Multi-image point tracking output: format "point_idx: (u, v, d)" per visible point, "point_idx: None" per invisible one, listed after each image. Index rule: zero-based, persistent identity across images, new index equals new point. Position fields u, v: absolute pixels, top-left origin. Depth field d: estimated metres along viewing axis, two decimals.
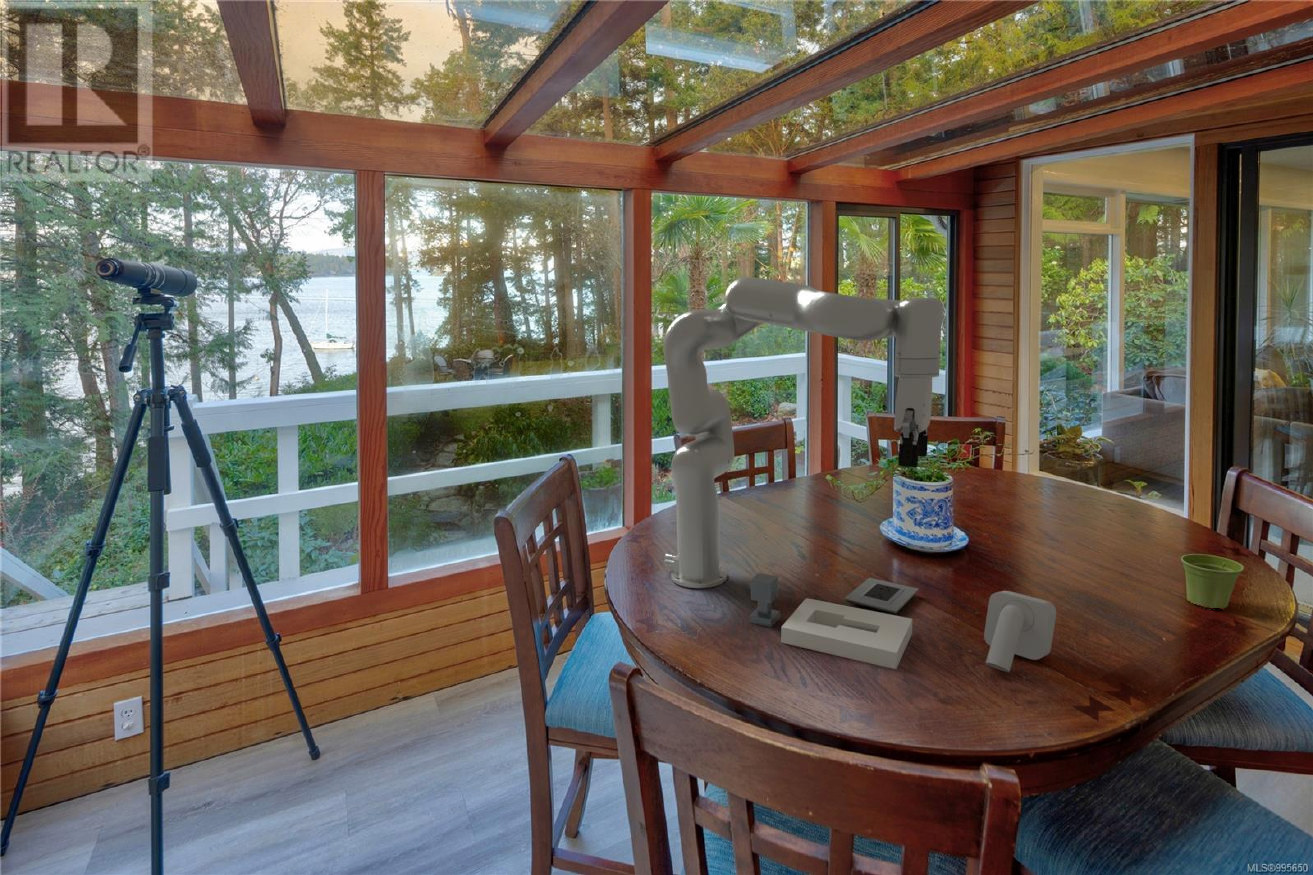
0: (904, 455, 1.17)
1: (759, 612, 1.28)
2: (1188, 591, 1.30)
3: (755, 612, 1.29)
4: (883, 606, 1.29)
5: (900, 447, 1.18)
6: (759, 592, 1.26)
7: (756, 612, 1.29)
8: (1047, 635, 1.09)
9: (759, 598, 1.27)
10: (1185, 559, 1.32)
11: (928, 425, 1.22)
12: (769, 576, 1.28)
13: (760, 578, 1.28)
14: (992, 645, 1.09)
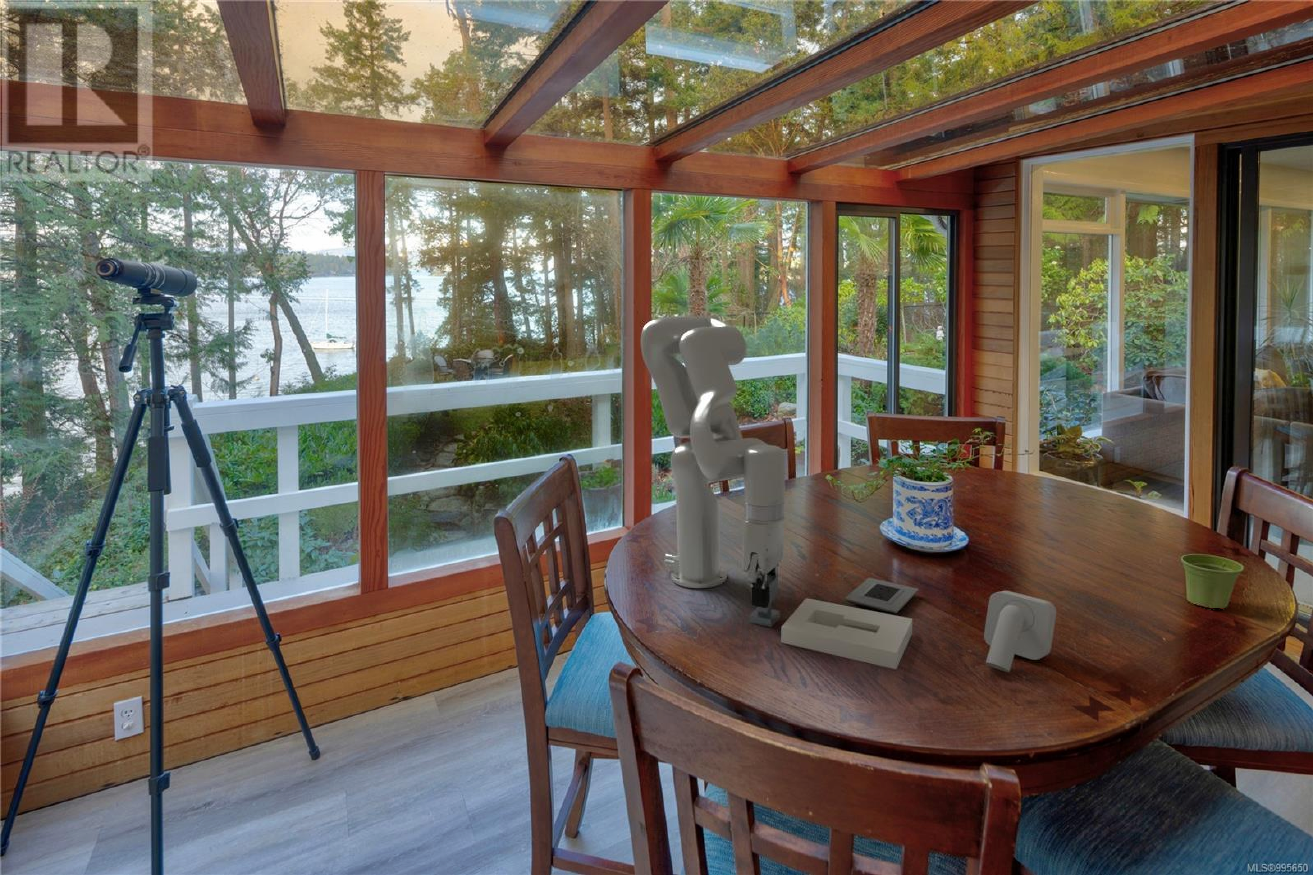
0: (755, 597, 1.25)
1: (759, 612, 1.28)
2: (1188, 591, 1.30)
3: (755, 612, 1.29)
4: (884, 606, 1.29)
5: (752, 589, 1.26)
6: None
7: (756, 612, 1.29)
8: (1047, 635, 1.09)
9: None
10: (1185, 559, 1.32)
11: None
12: (769, 576, 1.28)
13: None
14: (992, 646, 1.09)
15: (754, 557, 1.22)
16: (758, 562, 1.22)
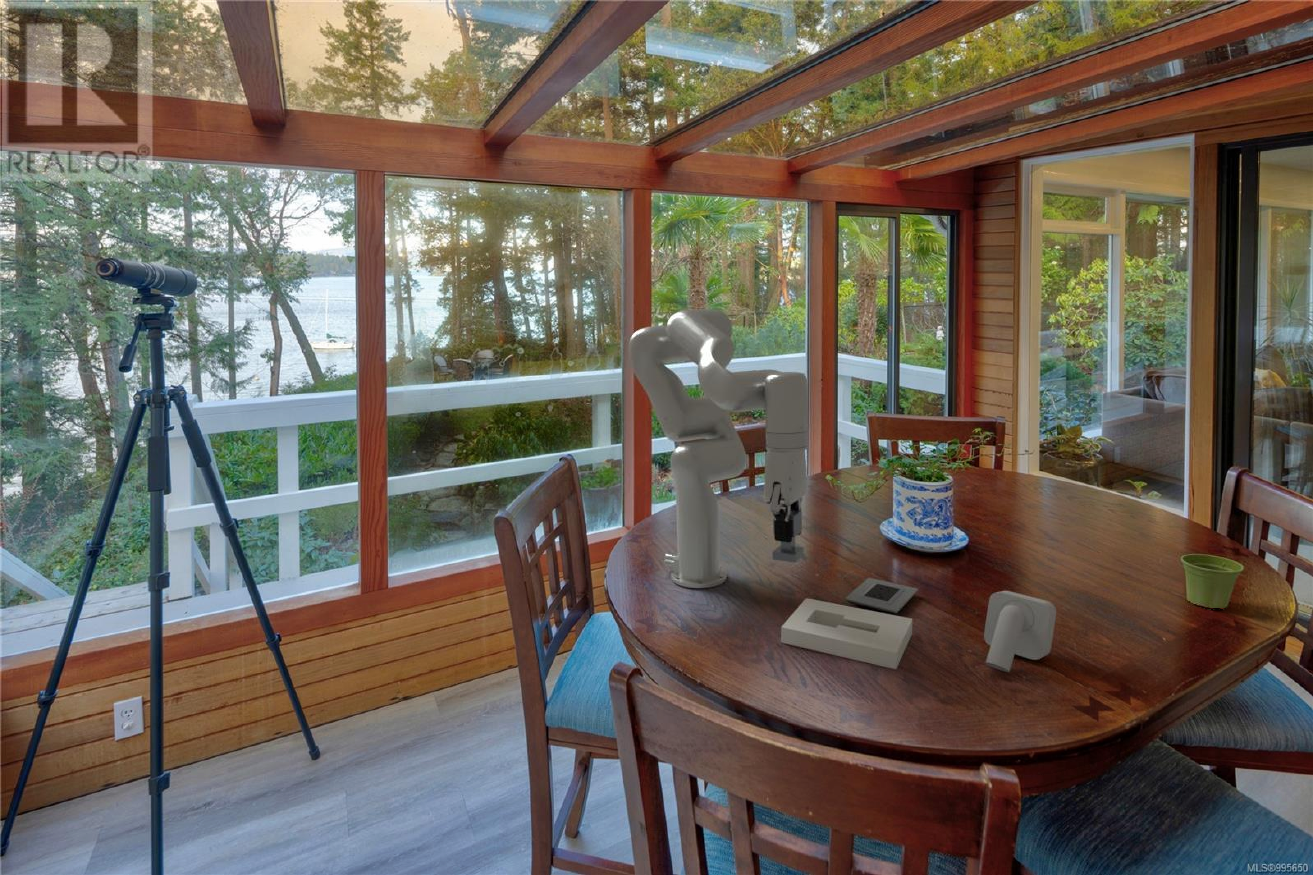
0: (778, 531, 1.20)
1: (782, 548, 1.23)
2: (1188, 591, 1.30)
3: (778, 549, 1.24)
4: (884, 606, 1.29)
5: (775, 522, 1.21)
6: None
7: (779, 549, 1.24)
8: (1047, 635, 1.09)
9: None
10: (1185, 559, 1.32)
11: (802, 495, 1.23)
12: (792, 510, 1.23)
13: None
14: (992, 645, 1.09)
15: (777, 487, 1.18)
16: (781, 492, 1.17)
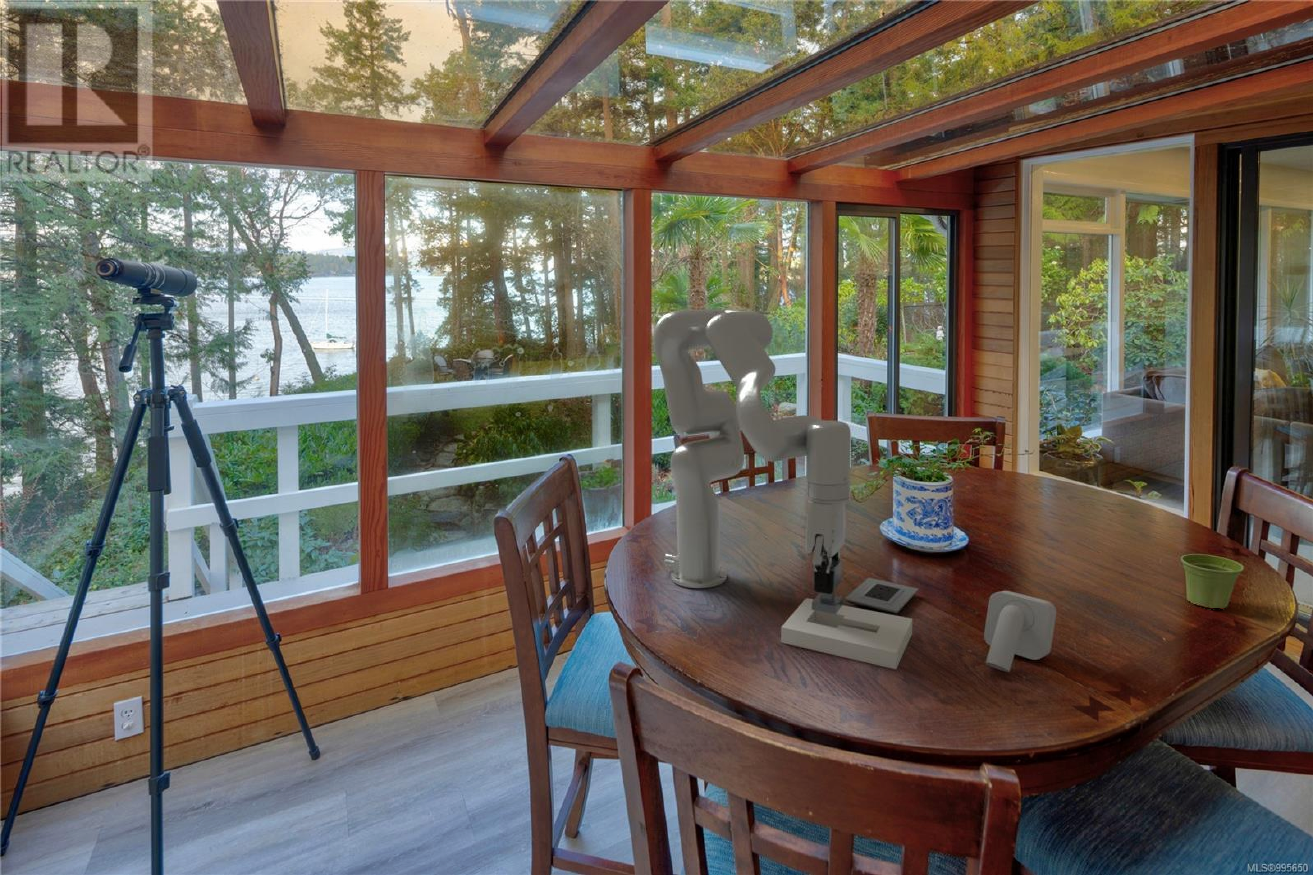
0: (819, 582, 1.18)
1: (822, 598, 1.21)
2: (1188, 591, 1.30)
3: (817, 599, 1.22)
4: (884, 606, 1.29)
5: (815, 573, 1.19)
6: None
7: (818, 599, 1.22)
8: (1047, 635, 1.09)
9: None
10: (1185, 559, 1.32)
11: (842, 545, 1.21)
12: (832, 560, 1.21)
13: None
14: (992, 645, 1.09)
15: (819, 539, 1.15)
16: (823, 544, 1.15)
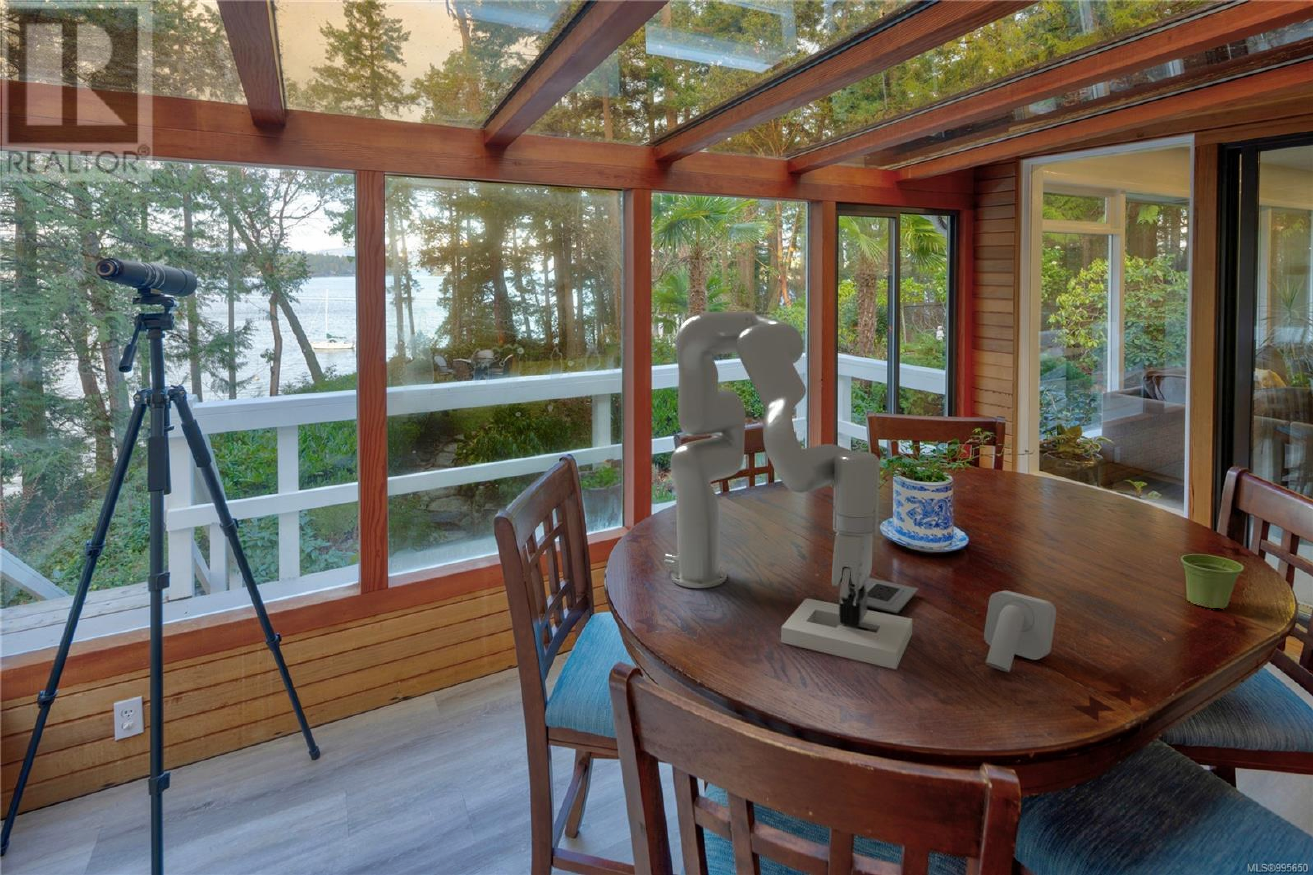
0: (845, 614, 1.17)
1: None
2: (1188, 591, 1.30)
3: None
4: (884, 607, 1.29)
5: (841, 605, 1.18)
6: None
7: None
8: (1047, 635, 1.09)
9: None
10: (1185, 559, 1.32)
11: (868, 576, 1.19)
12: (858, 591, 1.20)
13: None
14: (992, 645, 1.09)
15: (846, 572, 1.14)
16: (851, 577, 1.13)
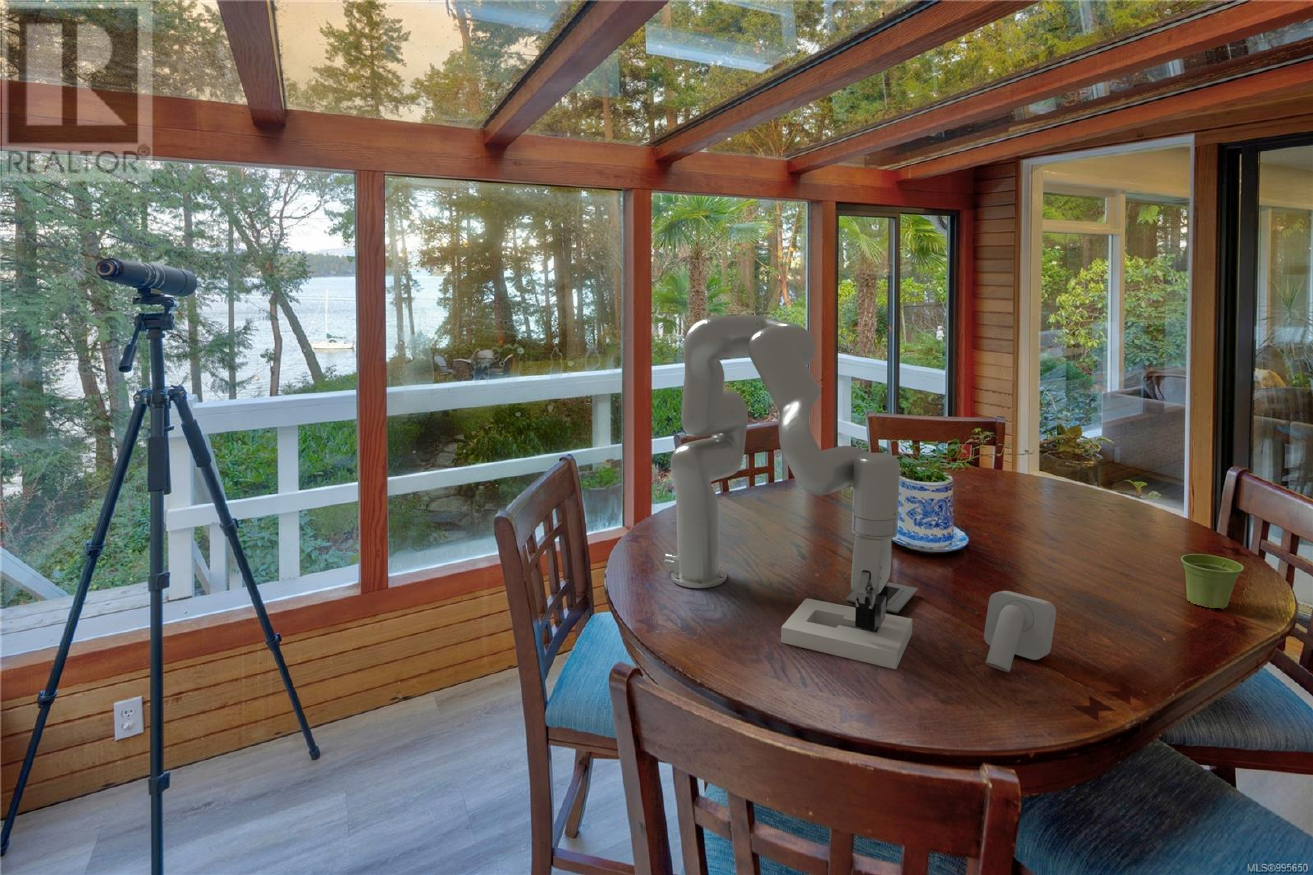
0: (860, 618, 1.13)
1: None
2: (1188, 591, 1.30)
3: None
4: None
5: (857, 608, 1.14)
6: None
7: None
8: (1047, 635, 1.09)
9: None
10: (1185, 559, 1.32)
11: (887, 580, 1.18)
12: (877, 596, 1.18)
13: None
14: (992, 645, 1.09)
15: None
16: (871, 581, 1.12)
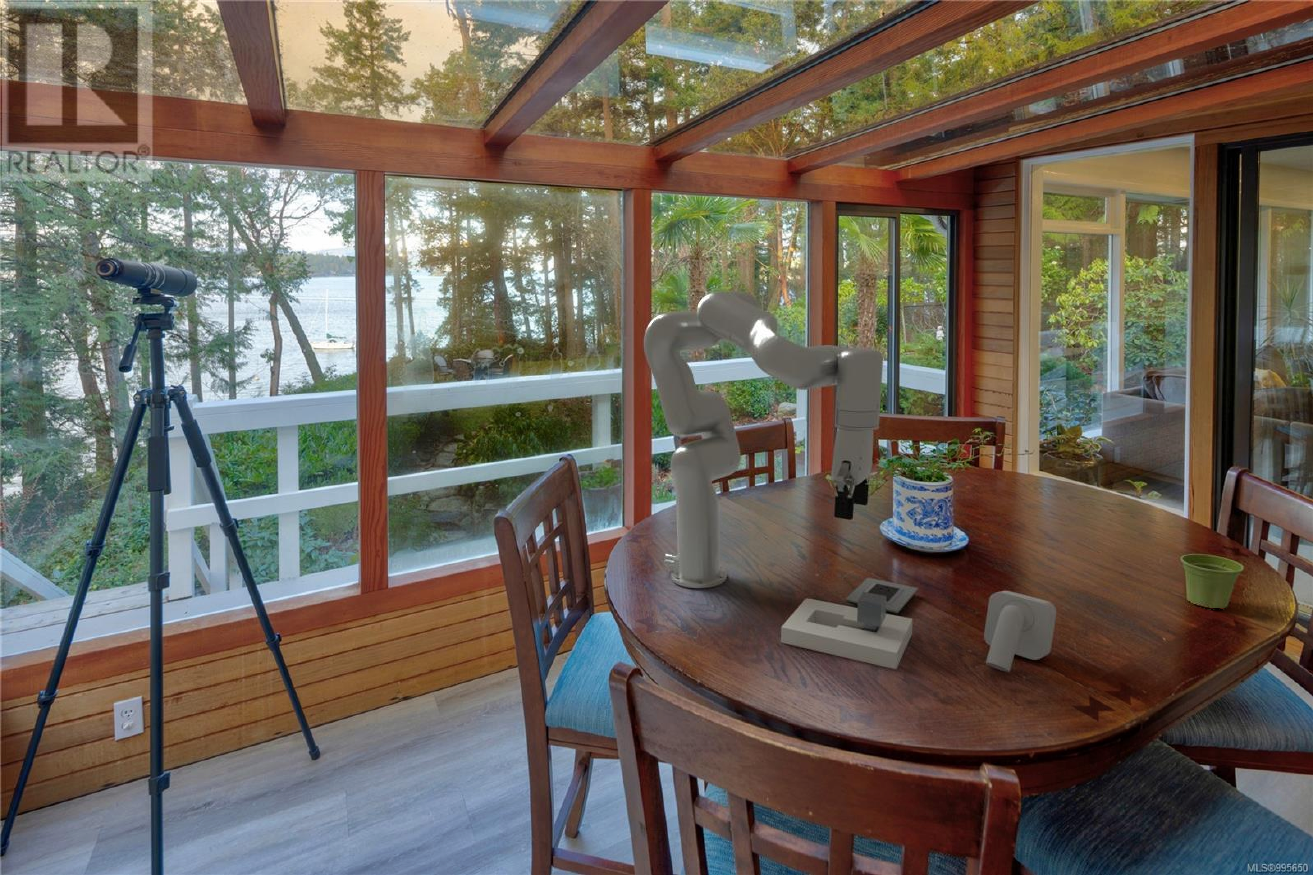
0: (839, 507, 1.16)
1: None
2: (1188, 591, 1.30)
3: None
4: None
5: (836, 499, 1.17)
6: (867, 613, 1.16)
7: None
8: (1047, 635, 1.09)
9: (867, 620, 1.16)
10: (1185, 559, 1.32)
11: (868, 475, 1.21)
12: (877, 596, 1.18)
13: (867, 598, 1.17)
14: (992, 645, 1.09)
15: None
16: (850, 471, 1.15)
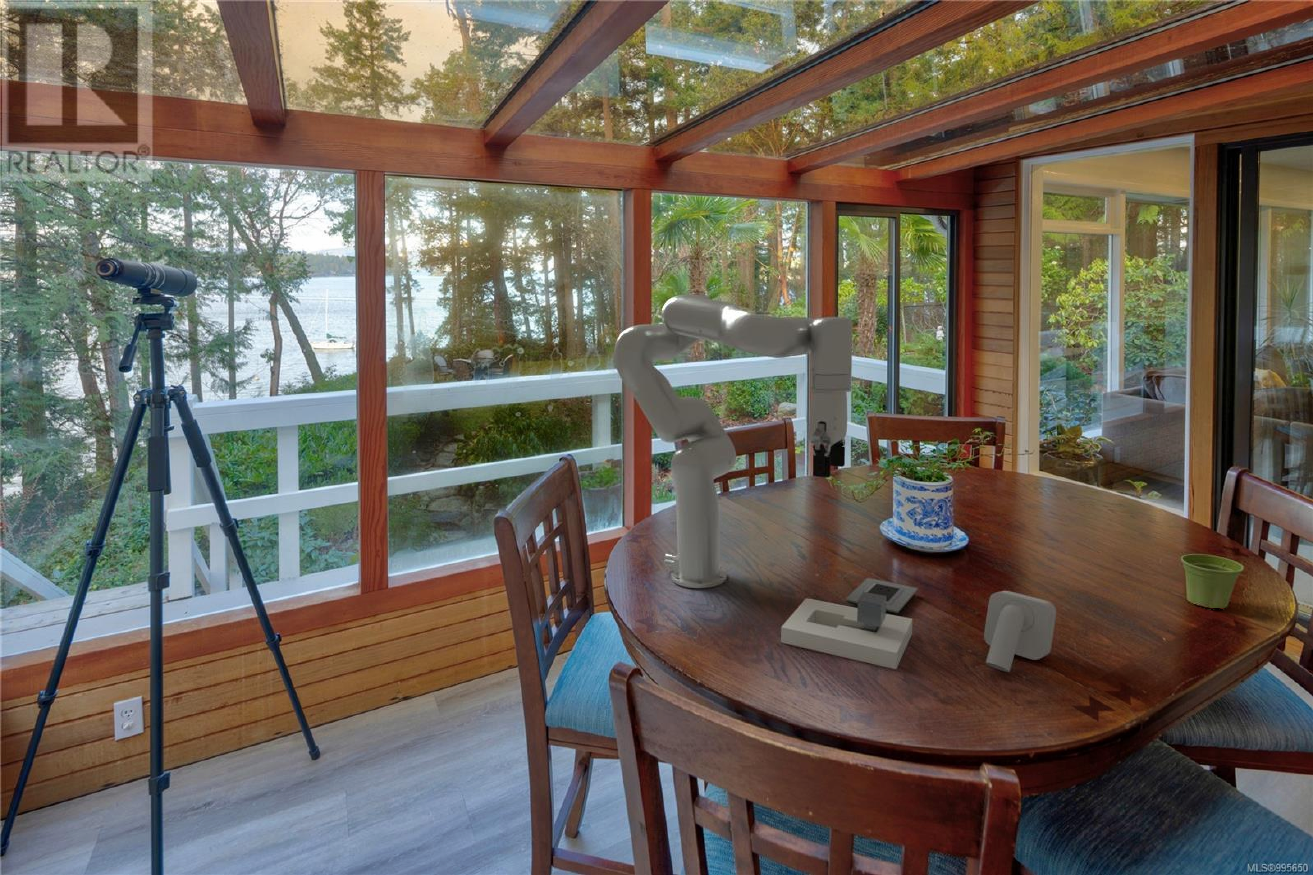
0: (817, 466, 1.24)
1: None
2: (1188, 591, 1.30)
3: None
4: None
5: (814, 458, 1.24)
6: (867, 613, 1.16)
7: None
8: (1047, 635, 1.09)
9: (867, 620, 1.16)
10: (1185, 559, 1.32)
11: (843, 437, 1.29)
12: (877, 596, 1.18)
13: (867, 598, 1.17)
14: (992, 645, 1.09)
15: None
16: (826, 431, 1.22)
